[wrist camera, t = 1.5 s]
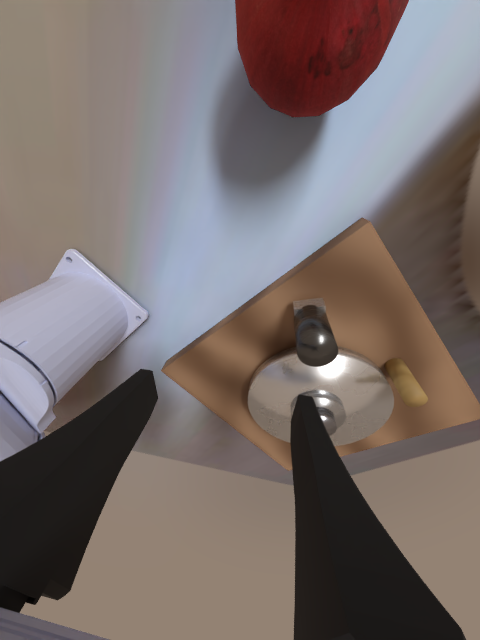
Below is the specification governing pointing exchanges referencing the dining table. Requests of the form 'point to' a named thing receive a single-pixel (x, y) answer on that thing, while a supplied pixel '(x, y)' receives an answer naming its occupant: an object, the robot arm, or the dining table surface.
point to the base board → (349, 332)
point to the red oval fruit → (313, 49)
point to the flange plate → (320, 382)
